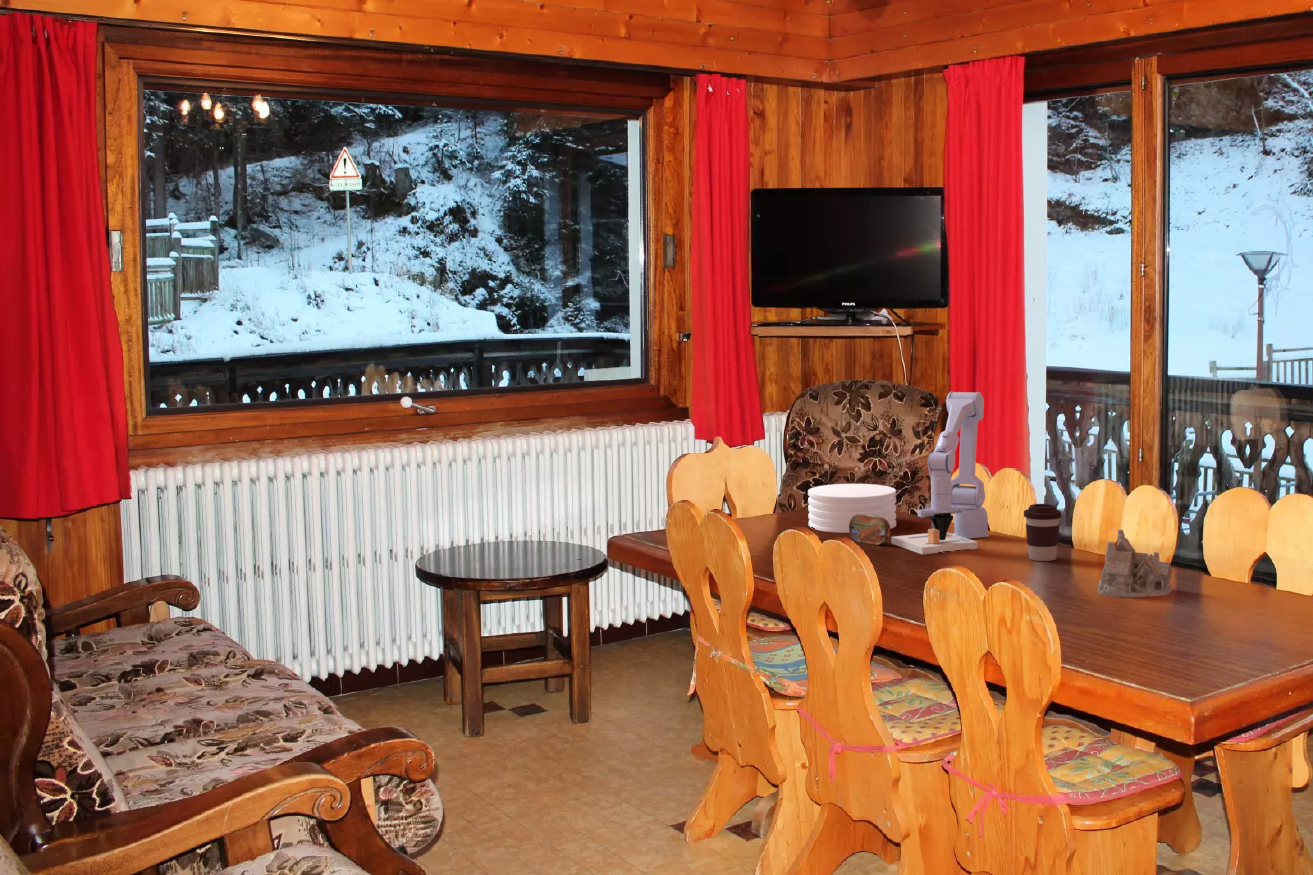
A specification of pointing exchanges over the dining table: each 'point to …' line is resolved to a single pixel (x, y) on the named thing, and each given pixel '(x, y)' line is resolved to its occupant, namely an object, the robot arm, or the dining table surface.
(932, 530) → the switch
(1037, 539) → the coffee cup
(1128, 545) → the ceramic cottage
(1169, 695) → the dining table surface
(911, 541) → the board
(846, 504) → the plate stack
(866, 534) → the tin
